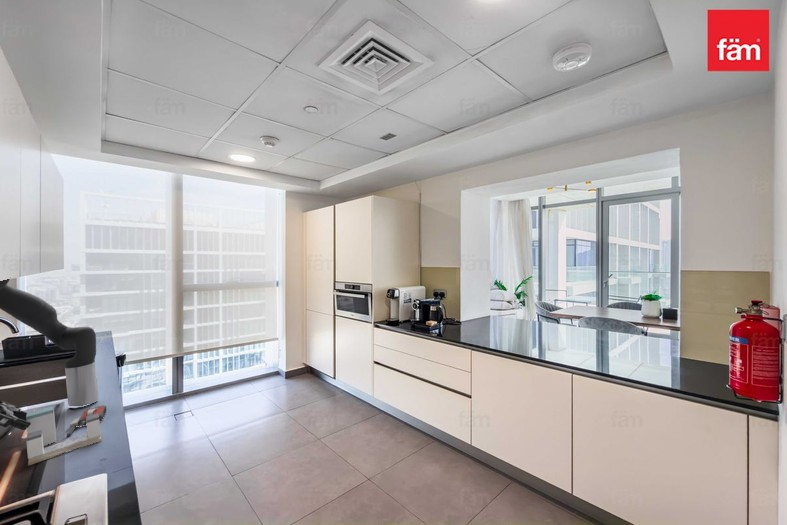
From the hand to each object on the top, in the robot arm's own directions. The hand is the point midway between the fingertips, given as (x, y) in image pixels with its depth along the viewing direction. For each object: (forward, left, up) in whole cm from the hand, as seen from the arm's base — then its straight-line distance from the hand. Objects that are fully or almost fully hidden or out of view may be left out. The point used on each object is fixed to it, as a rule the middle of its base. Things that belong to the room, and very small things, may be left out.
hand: (29, 422), depth 105 cm
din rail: (+6, +13, -8) cm, 16 cm away
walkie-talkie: (-13, +8, -9) cm, 18 cm away
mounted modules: (+6, +13, -7) cm, 15 cm away
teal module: (-1, +2, -8) cm, 9 cm away
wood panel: (+6, +13, -8) cm, 16 cm away
